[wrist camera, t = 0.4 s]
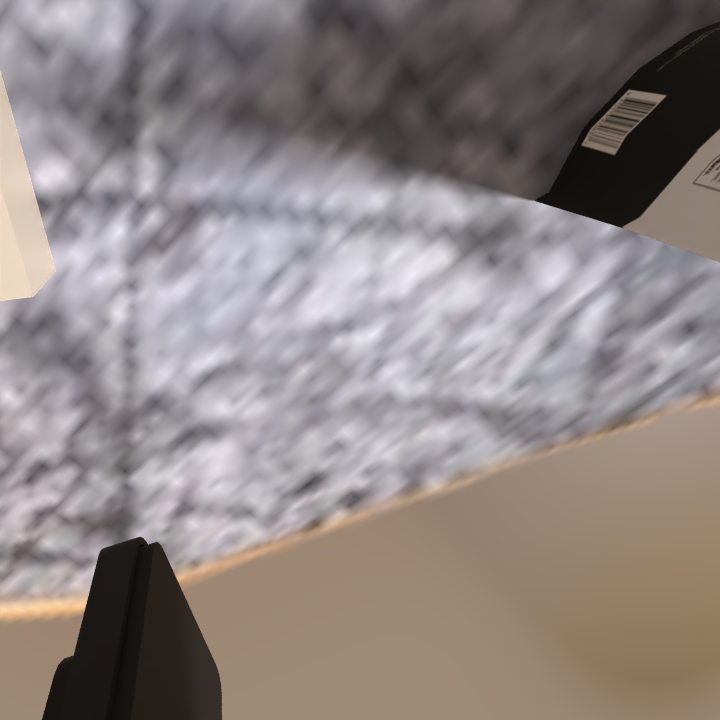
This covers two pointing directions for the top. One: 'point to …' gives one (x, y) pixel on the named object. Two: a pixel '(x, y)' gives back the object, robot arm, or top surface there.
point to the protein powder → (655, 151)
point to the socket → (19, 217)
